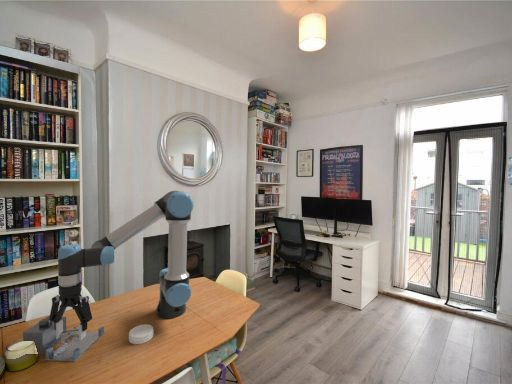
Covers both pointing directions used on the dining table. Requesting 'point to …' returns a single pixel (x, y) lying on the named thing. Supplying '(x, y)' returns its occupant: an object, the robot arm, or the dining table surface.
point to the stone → (70, 335)
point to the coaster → (140, 334)
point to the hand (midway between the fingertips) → (71, 337)
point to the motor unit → (47, 340)
